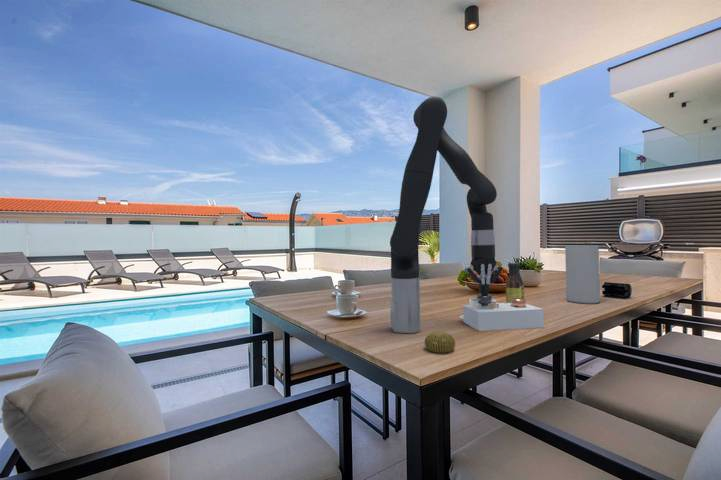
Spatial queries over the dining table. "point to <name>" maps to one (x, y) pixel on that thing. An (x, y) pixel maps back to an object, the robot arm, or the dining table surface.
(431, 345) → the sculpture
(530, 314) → the mount
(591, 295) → the cylinder vase
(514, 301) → the knob right
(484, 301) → the knob left
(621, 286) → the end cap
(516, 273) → the sauce bottle
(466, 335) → the dining table surface
